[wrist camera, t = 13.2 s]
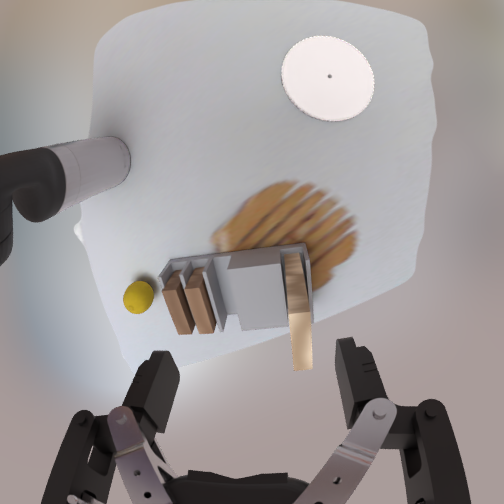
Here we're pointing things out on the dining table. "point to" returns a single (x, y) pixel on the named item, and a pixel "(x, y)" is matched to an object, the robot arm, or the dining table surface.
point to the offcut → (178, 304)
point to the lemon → (138, 297)
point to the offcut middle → (200, 302)
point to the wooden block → (298, 313)
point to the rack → (246, 284)
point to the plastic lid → (327, 78)
